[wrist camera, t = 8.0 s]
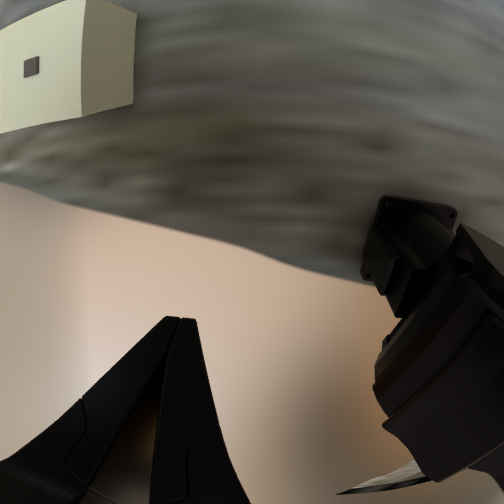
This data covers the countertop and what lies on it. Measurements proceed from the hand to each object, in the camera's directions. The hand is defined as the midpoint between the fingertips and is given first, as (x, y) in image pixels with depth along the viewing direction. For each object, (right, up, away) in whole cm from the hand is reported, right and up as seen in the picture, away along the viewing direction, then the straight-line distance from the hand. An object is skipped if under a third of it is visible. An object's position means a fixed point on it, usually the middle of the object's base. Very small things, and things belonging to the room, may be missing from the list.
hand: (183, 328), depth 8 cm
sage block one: (-8, +14, +6) cm, 17 cm away
